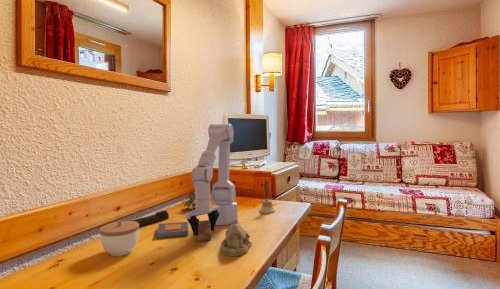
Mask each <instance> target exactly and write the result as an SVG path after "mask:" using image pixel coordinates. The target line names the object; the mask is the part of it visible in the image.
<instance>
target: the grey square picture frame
mask: <svg viewBox="0 0 500 289" xmlns="http://www.w3.org/2000/svg"><path fill="white" fill-rule="evenodd" d="M155 234H156V240H158V239H166V238H168V239H169V238H176V237H178V238H179V237H188V236H189V222H188V221H179V222H168V223H167V222H166V223H159V224H158V228H157V230H156V233H155Z"/></svg>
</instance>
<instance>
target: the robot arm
mask: <svg viewBox="0 0 500 289" xmlns="http://www.w3.org/2000/svg"><path fill="white" fill-rule="evenodd" d="M234 131H235V130H234V126H233V125H232V124H231V123H221V124H220V123H217V124H216V123H214V124H213V123H211V124H210V125H209V126H208V130H207V133H208V134H207V135H208V142H207V145H206V149H205V150H204V151H202V153H201V155H200V157H199V161H198V163H197V165H196V166H195V167H194V168H193V169H192V170H191V176H190V177H191V180H192V186H193V187H194V192H195V200H194V204H195V209H193V210H192V209H191V210H192V211H191V210H190V211H187V212H185V213H184V216H185V217H184V218H185V219H186V220H187V222H188V225H189V226H190V228H191V230H192V234H193V236H195V237H197V236H198V223H199V221H200V218H197V217H199V216H202V215H207V218H208V220H210V223H211V232H215V228H216V226H226V225H227V226H228V225H231V224H232V222H233V221H234V220H237V222H238V204H237V202H236V201H235V200H236V198H237V197H236V196H237V193H236V185H235V184H234V183H233V182H232V181H230V163H231V162H230V159H231V158H230V156H231V144H233V143H234V135H235V134H234ZM217 149H218V172H217V174H218V175H217V176H218V177H217V179H218V180H217V181H216V182H215V183H214V184H212V189H211V181H212V179H213V171H214V169H213V167H214V164H215V161H216V158H217V156H216V154H215V153H216V151H217ZM211 200H212V201H213V202H214V204H215V205H212V204H211ZM238 223H239V222H238Z"/></svg>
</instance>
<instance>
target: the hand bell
mask: <svg viewBox="0 0 500 289" xmlns="http://www.w3.org/2000/svg"><path fill="white" fill-rule="evenodd" d="M263 190H264V194H265V195H264V196H265V198H264V200H262V203H261V204H262V205H261V207H260V209H259V210H258V213H260V214H264V215H265V214H274V213H275V212H276V209H275V208H274V207H273V204H272V200H271V199H270V197H269V190H270V184H269V180H268V179H264V184H263Z"/></svg>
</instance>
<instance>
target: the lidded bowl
mask: <svg viewBox="0 0 500 289" xmlns="http://www.w3.org/2000/svg"><path fill="white" fill-rule="evenodd" d="M139 233H140V226H139V223H138V222H135V221H129V220H120V219H119V220H117V221H114V222H110V223H107V224H105V225H103V226H101V227H100V228H99V235H100V236H99V237H100V238H99V239H100V243H101V246H102V248H103V250H104V251H105V252H107V253H108V254H109V255H110V256H112V257H121V256H125V255H127V254H130V253H131V252H132V251H133V249H134V248H136V246H137V244H138V241H139V236H140V234H139Z"/></svg>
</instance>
